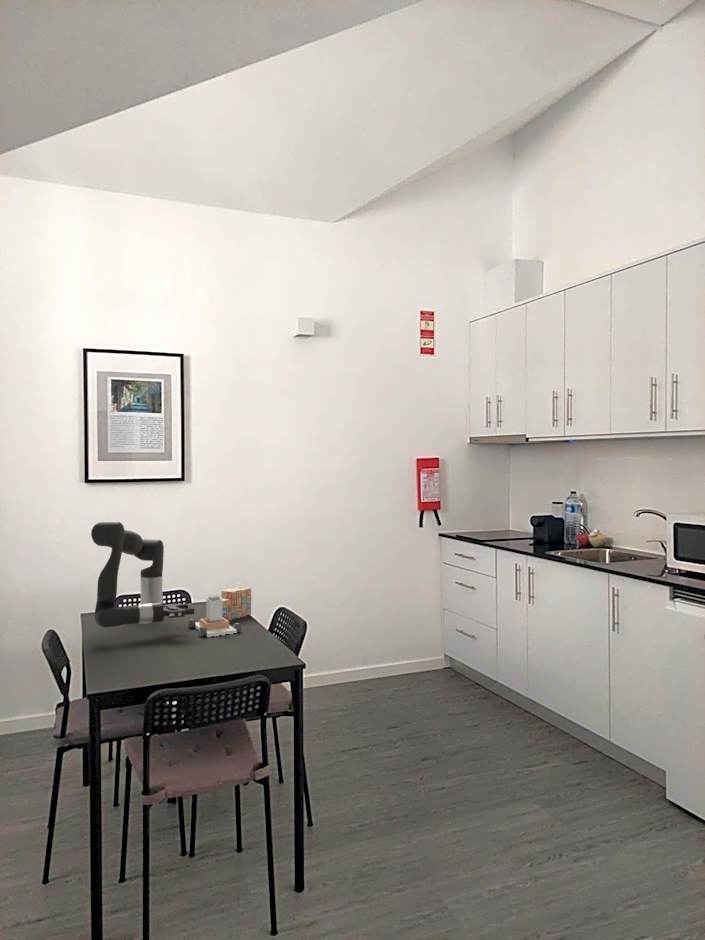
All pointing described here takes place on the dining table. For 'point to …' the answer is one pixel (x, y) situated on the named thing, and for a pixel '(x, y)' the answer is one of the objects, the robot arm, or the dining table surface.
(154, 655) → the dining table surface
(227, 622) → the chassis
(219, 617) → the grey tall block
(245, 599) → the stack of blocks
